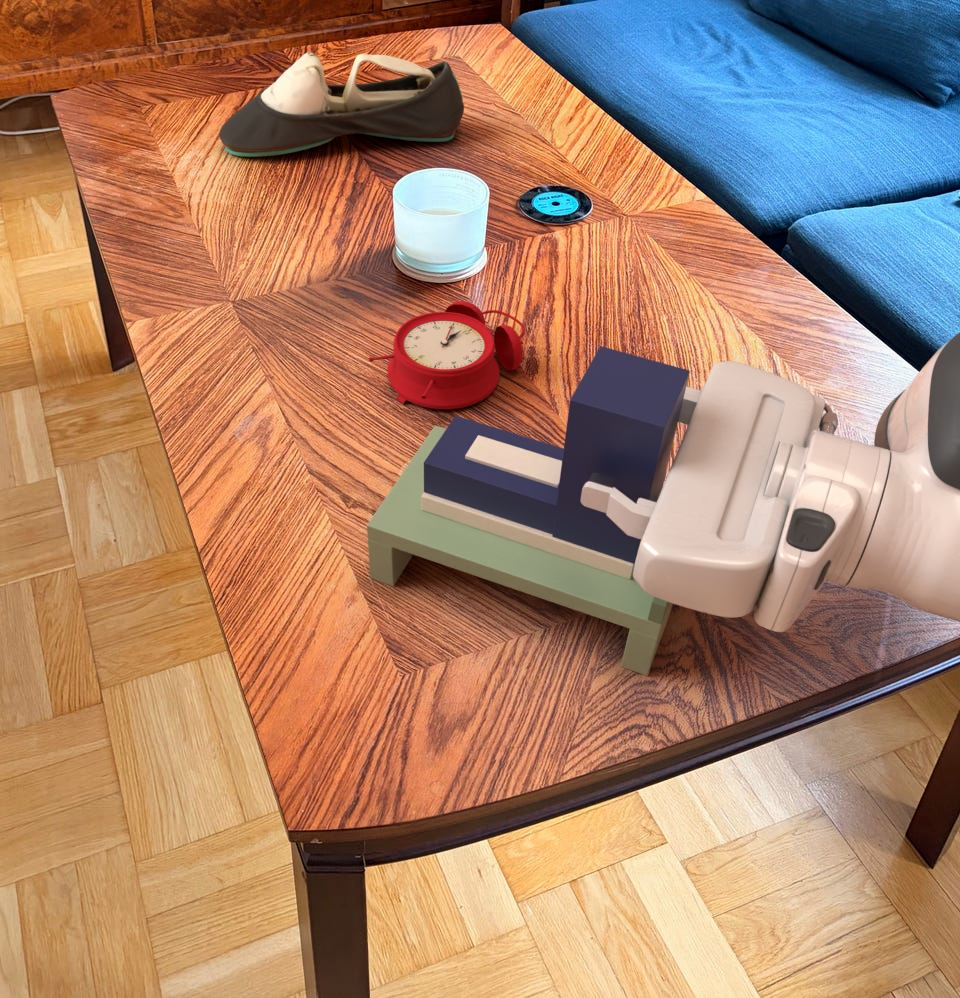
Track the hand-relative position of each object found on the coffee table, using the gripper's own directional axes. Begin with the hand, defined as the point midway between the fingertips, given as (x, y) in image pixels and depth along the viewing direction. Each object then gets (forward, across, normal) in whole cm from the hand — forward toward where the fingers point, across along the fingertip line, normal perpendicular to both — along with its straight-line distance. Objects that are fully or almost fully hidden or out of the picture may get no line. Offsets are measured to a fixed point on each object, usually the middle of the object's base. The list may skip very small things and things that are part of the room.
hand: (607, 441), depth 66 cm
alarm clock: (+19, -20, +15) cm, 32 cm away
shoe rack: (+4, 0, +15) cm, 16 cm away
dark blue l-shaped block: (+4, 0, +9) cm, 10 cm away
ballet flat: (+50, -56, +15) cm, 77 cm away
